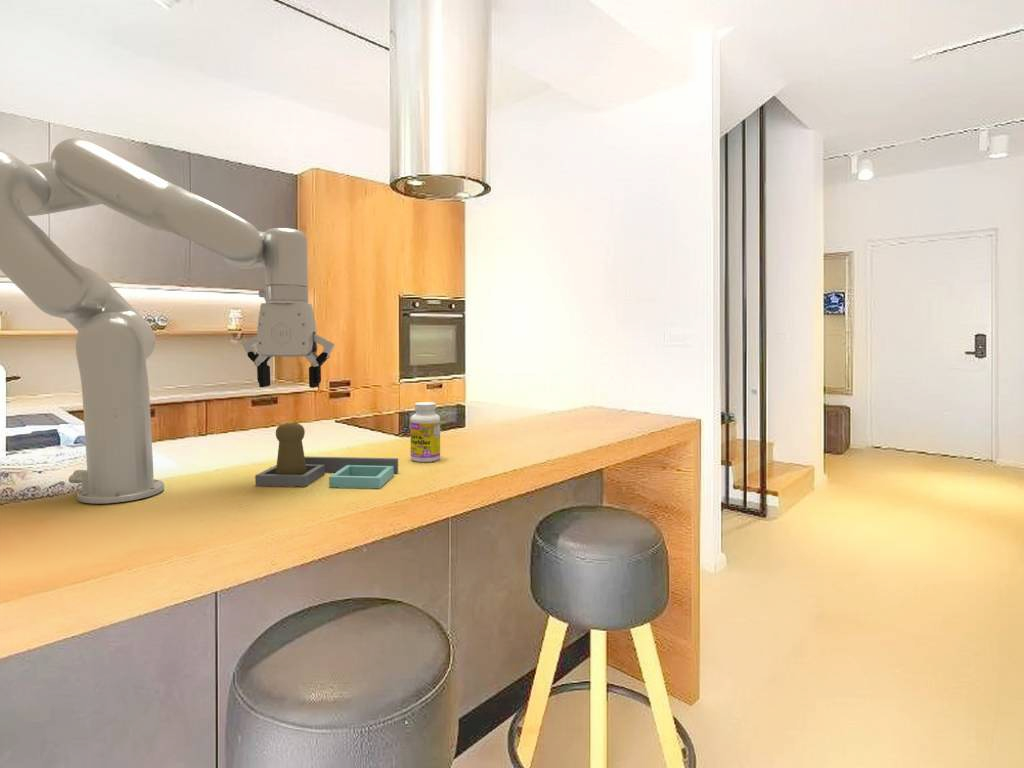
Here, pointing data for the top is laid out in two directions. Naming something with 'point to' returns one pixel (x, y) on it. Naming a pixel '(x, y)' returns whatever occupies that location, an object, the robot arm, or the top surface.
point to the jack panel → (347, 472)
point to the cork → (290, 450)
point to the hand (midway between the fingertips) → (289, 386)
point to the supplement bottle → (425, 433)
